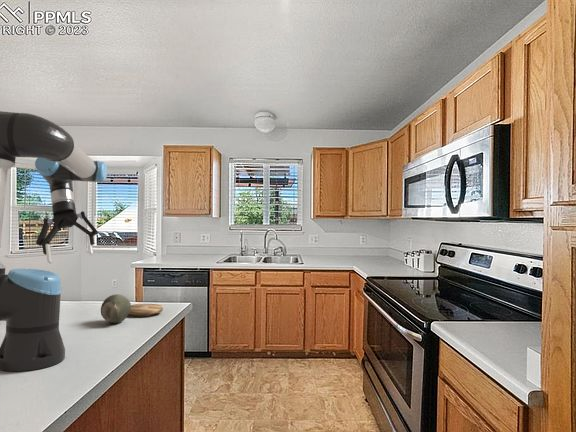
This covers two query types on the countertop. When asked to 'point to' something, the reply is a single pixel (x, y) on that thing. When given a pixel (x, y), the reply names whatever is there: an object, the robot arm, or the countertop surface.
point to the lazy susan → (145, 309)
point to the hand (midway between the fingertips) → (70, 258)
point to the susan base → (143, 315)
